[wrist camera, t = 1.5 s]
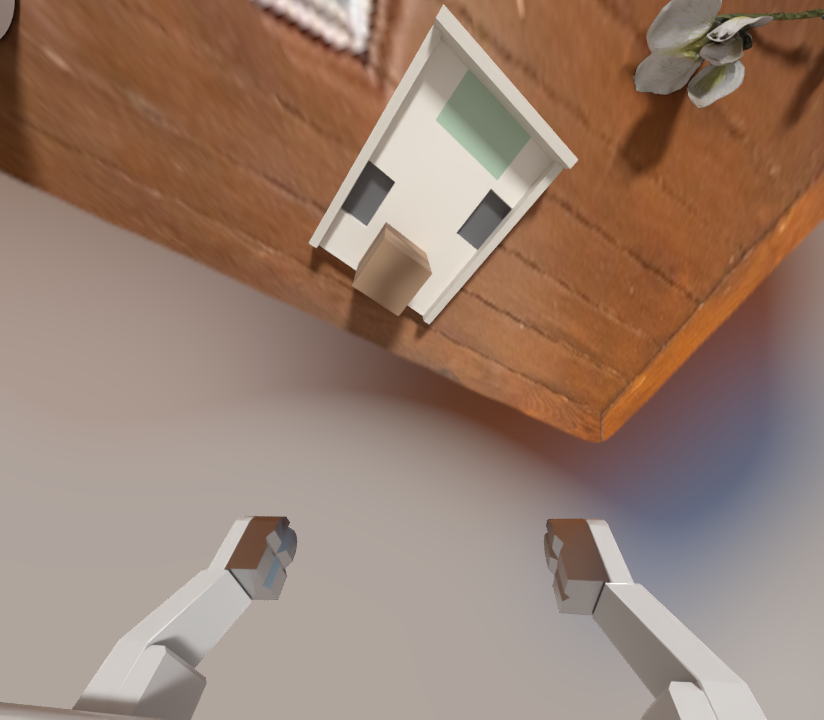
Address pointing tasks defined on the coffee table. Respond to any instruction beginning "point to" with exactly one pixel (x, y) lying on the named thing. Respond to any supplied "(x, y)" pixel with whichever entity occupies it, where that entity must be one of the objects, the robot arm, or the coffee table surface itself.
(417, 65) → the white rimmed tray
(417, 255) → the walnut block
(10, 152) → the coffee table surface
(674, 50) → the artificial flower
